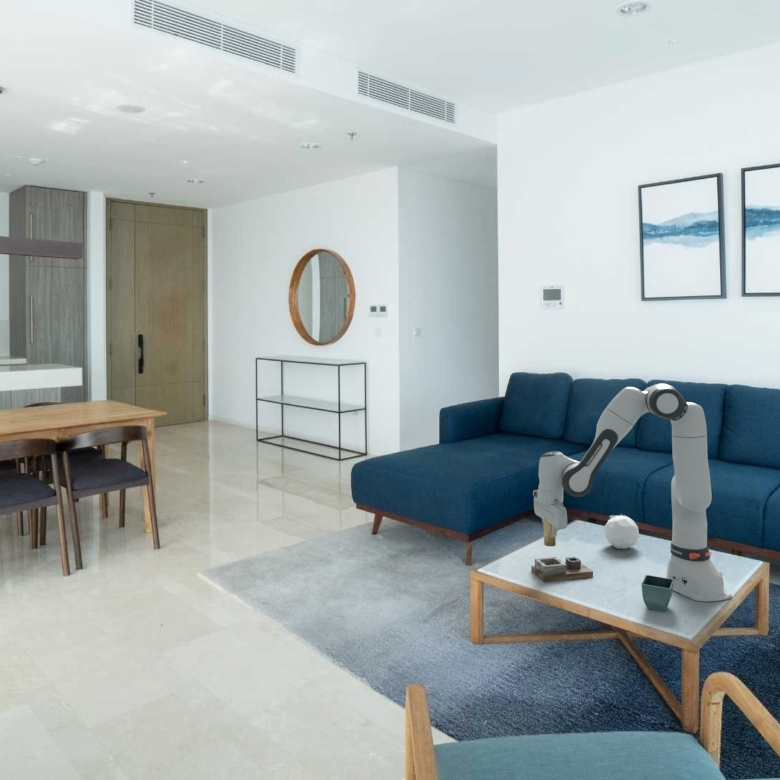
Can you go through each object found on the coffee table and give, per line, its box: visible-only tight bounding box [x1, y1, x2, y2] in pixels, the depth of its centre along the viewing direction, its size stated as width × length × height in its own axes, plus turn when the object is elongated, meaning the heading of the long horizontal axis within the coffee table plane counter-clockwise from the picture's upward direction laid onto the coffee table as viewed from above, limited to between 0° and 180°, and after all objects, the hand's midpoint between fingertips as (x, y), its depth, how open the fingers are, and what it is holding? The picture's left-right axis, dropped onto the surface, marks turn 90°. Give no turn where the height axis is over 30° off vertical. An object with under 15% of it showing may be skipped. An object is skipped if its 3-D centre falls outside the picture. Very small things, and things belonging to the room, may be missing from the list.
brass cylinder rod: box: [543, 517, 557, 547], centre depth 250 cm, size 4×4×10 cm
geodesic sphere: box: [603, 513, 640, 550], centre depth 279 cm, size 14×14×14 cm
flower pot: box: [641, 574, 674, 613], centre depth 221 cm, size 9×9×9 cm
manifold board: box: [530, 556, 594, 583], centre depth 252 cm, size 11×19×5 cm, turn 102°
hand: (550, 533), depth 250 cm, fingers closed on brass cylinder rod, 4 cm apart
